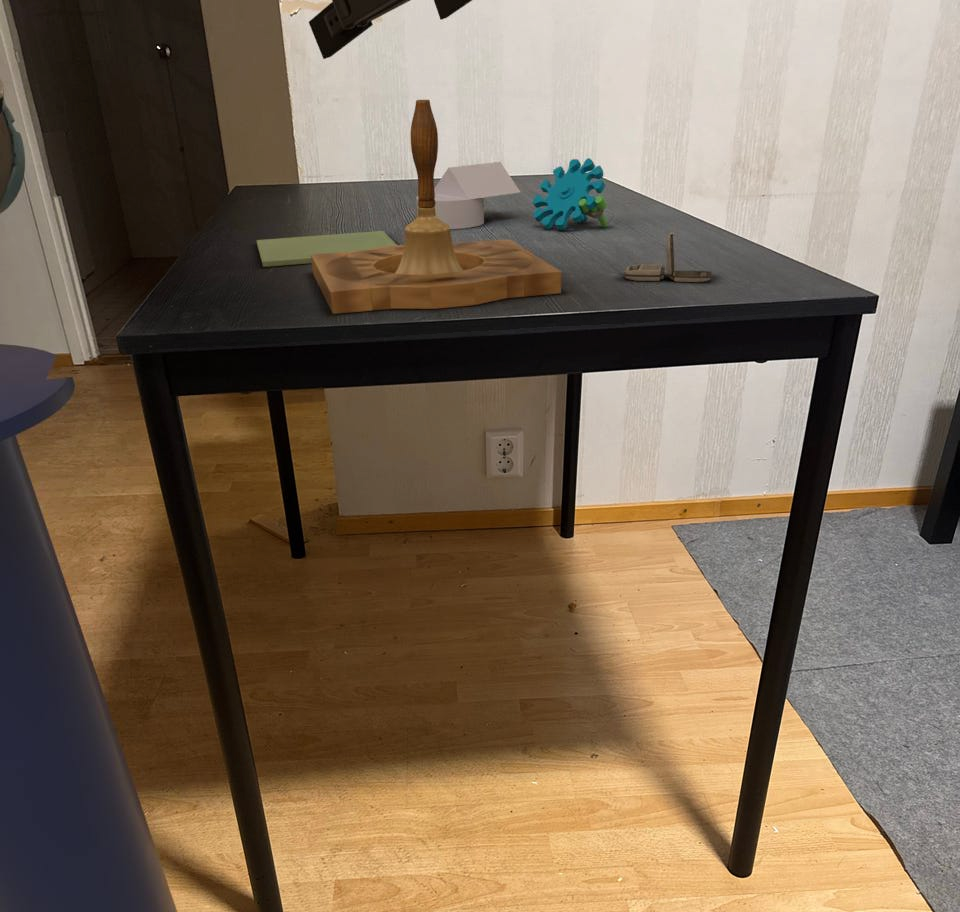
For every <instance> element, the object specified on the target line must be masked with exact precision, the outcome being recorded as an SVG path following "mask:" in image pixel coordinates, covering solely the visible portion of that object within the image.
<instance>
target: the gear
mask: <svg viewBox="0 0 960 912" xmlns="http://www.w3.org/2000/svg"><path fill="white" fill-rule="evenodd" d="M552 173H553V175H554V177H555V179H554V184H553V185H552V184H551V183H550V180H549V179H547V178H546V179H545V180H543V181H542V182H541V183H540V184H539V188H540V189H541V191H542V192H543V193H546V194H548V195H547V196H546V197H545V198H543V197H542V195H541V194H536V195H535V196H534V198H533V199H532V204H533V206H534V207H535V208H536V209H535V210H534V212H533V217H534V219H535V221H536V222H538V223H539V222H541V224H542V225H543V227H544V228H545V230H550V229H551V228H552V227H553V225H555V226H556V228H557V230H565V229H566V228H567V227H568V221H569V219H570V217H571V218H572V220H573V222H574V223H581V224H585V223H586V222H588V220H589V217H590V218H591V219H592V218H593V219H597V220H598V222H599V223H600V225H601V226H602V228H603V229H604V228H607V227H608V226H609V223H608V221H607V220H606V218H605V216H604V211H605V210H606V208H607V206H608V203H607V202H606V200H605V198H604V196H603V195H598V196H597V197H596V196H594V195H590V194H589V193H590V192H591V191H592V190H595V191H596V193H597V194H602V193H603V192H604V190H605V188H606V183H605V182H604V180H603V177H604V170H603V168H602V166H601V165H596V164H595V162H594V161H593V160H592V159H591V158H590V157H588V158H586V159H585V160H584V162H583V164H582V163H581V161H580V160H579V159H577V158H573V159H570V161H569V162H568V169H567V171H565V170H564V168H563V166H561V165H560V166H558V167H556V168H554V169H553V171H552ZM593 179H595V181H592V180H593ZM541 207H545V208H544V209H542V208H541Z"/></svg>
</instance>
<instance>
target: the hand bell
mask: <svg viewBox="0 0 960 912" xmlns="http://www.w3.org/2000/svg"><path fill="white" fill-rule="evenodd" d="M410 150H411V156H412V160H413V163H414V167H415V170H416V171H415V172H416V174H417V186H418V187H417V196H418V199H419V200H418V217H416V218H415V219H414V220H413V221H411V222H410V223H408V224H407V225H406V226H405V228H404V243H403V245H404V250H403V255H402V259H401V262H400V265H399V267H398V269H397V271H396V272H395V273H397V274H406V275H430V274H442V273H453V272H458V271H463V269H462V267H461V266H460V264H459V262H458V260H457V258H456V256H455V252H454V249H453V245H452V243H453V239H452V233H451V229H450V227H449V225H448V224H446V223H444V222H443V221H441V220H440V219H438V218H437V217H436V213H435V207H434V206H435V200H434V198H435V192H434V188H435V169H436V164H437V161H438V152H439V133H438V127H437V123H436V119H435V116H434V113H433V110H432V106H431V101H430V100H429V99H416V100H415V106H414V111H413V116H412V120H411V125H410Z"/></svg>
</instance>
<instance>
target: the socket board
mask: <svg viewBox="0 0 960 912" xmlns="http://www.w3.org/2000/svg"><path fill="white" fill-rule="evenodd" d="M452 245H453V249H454V252H455V256H456V258H457V260H458V262H459V264H460V266H461V267H462V269H463V271H458V272H453V273H442V274H430V275H406V274H397V273H395V272H396V271H397V269H398V267H399V265H400V262H401V259H402V255H403V250H404V244H397V245H395V246H387V247H380V248H374V249H368V250H362V251H351V252H338V253H325V254H313V255H311V261H312V263H311V267H312V275H313V277H314V279H315V281H316V283H317V285H318V287H319V289H320V291H321V293H322V295H323V298H324V299H325V301H326V303H327V306H328V307H329V310H330V312H331V313H332V315H338V314H339V315H340V314H351V313H360V312H371V311H383V310H436V309H437V310H438V309H448V308H449V309H450V308H458V307H469V306H478V305H482V304H486V303H490V302H495V301H496V302H497V301H501V300H505V299H513V298H514V299H515V298H523V297H533V296H535V297H536V296H547V295H555V294H556V295H558V294H561V293H562V271H561V270H560V269H558V268H557V267H555V266H554V265H552V264H550V263H549V262H547V261H545V260H544V259H542V258H540V257H539V256H537V255H535V254H534V253H532V252H530V251H529V250H527V249H526V248H524V247H522V246H520V245H519V244H518V243H516V242H514V241H513V240H511V239H510V238H505V239H492V240H479V241H478V240H477V241H466V242H452Z"/></svg>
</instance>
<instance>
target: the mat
mask: <svg viewBox="0 0 960 912" xmlns="http://www.w3.org/2000/svg"><path fill="white" fill-rule="evenodd" d="M395 245H398V244H397V243H396V242H395V241H394V240H393V239H392V238H391V237H390V236H389V235H388V234H387V233H386V232H385V231H384V230H375V231H361V232H347V233H346V232H345V233H334V234H319V235H307V236H294V237H293V236H292V237H281V238H267V239H257V240H256V246H257V249H258V250H257V251H258V253H259V258H260V261H261V264H262V267H263V268H269V267H271V268H272V267H283V266H292V265H293V266H294V265H306V264H307V265H308V264H312V261H311V255H313V254H325V253H338V252H351V251H362V250H368V249H374V248H380V247H387V246H395Z"/></svg>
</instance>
